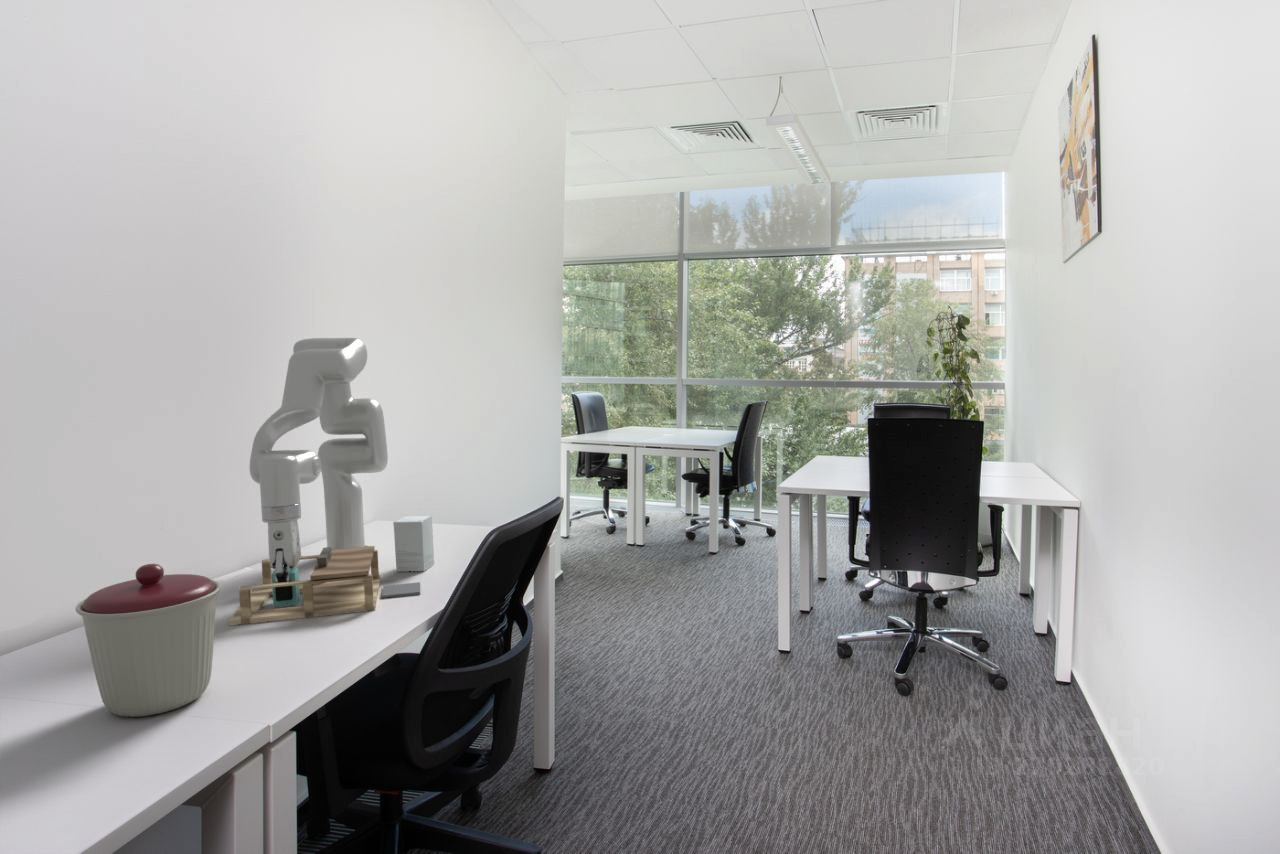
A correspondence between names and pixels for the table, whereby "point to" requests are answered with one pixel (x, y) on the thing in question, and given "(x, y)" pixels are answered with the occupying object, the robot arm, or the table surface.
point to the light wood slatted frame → (310, 596)
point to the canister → (151, 640)
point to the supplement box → (413, 543)
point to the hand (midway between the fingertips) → (286, 595)
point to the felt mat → (401, 590)
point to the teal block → (295, 590)
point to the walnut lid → (343, 562)
